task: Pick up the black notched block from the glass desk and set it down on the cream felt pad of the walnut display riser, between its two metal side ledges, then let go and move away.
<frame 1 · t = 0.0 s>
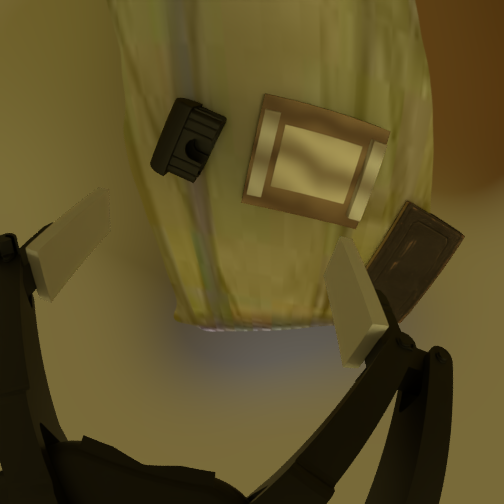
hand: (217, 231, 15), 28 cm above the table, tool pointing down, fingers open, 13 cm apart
display riser: (313, 160, 40), on the table
black notched block: (193, 135, 39), on the table
hardcover book: (403, 264, 50), on the table
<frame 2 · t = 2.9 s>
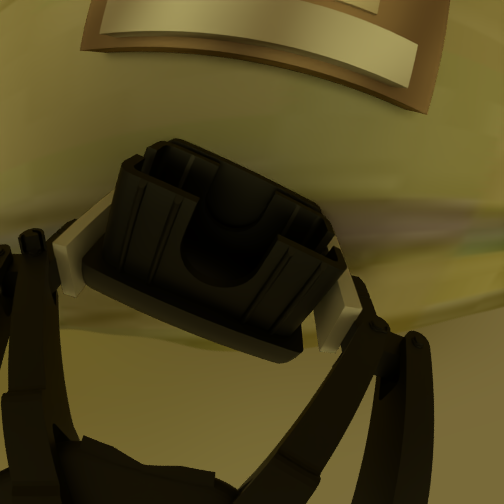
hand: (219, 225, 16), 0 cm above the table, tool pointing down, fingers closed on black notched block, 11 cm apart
black notched block: (222, 222, 16), on the table, touching gripper
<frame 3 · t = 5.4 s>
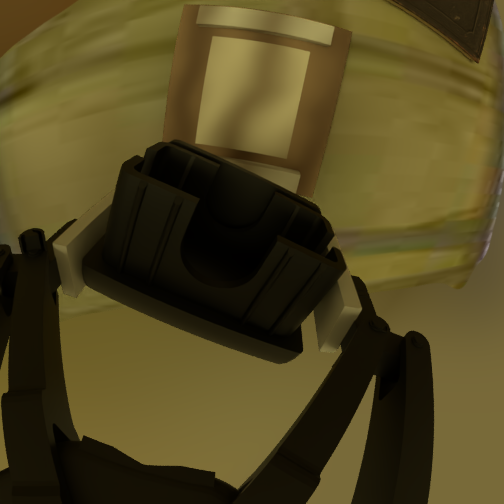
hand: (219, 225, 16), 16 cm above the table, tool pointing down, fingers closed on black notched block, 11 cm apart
display riser: (252, 95, 26), on the table
black notched block: (222, 223, 16), point 16 cm above the table, touching gripper
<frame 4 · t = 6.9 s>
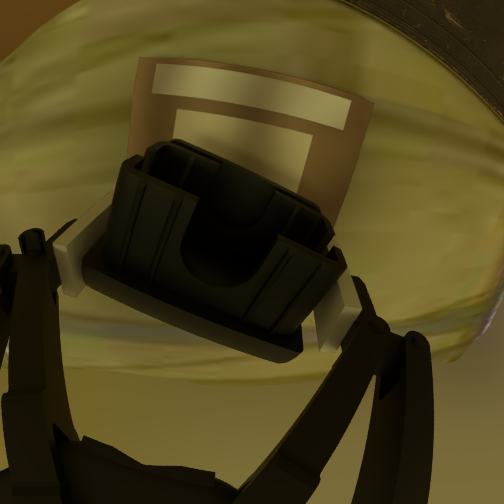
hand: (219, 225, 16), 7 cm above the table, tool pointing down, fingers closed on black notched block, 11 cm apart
display riser: (233, 183, 22), on the table
black notched block: (222, 222, 16), point 7 cm above the table, touching gripper
when the fingers open (4 cm above the table, at t = 8.0 s): black notched block drops 1 cm, resting on display riser.
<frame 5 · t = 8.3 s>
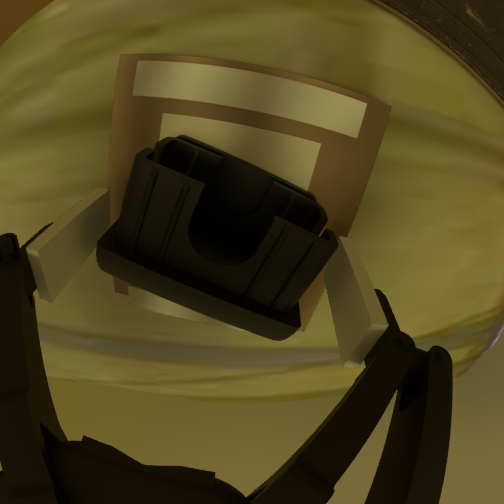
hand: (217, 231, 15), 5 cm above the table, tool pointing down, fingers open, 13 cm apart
display riser: (229, 196, 20), on the table
black notched block: (225, 212, 18), point 3 cm above the table, touching display riser
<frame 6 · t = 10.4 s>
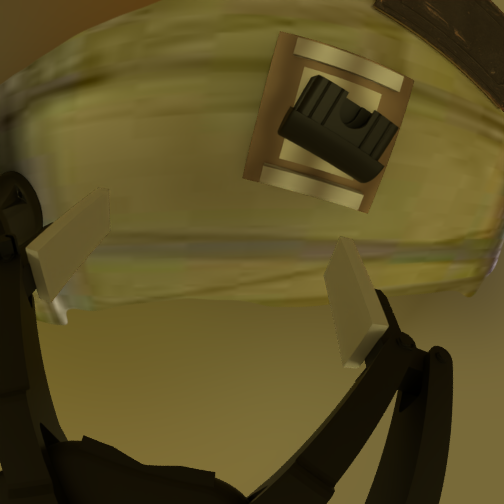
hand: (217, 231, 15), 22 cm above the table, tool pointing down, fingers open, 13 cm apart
display riser: (327, 121, 31), on the table
black notched block: (331, 124, 29), point 3 cm above the table, touching display riser
hardcover book: (457, 20, 20), on the table
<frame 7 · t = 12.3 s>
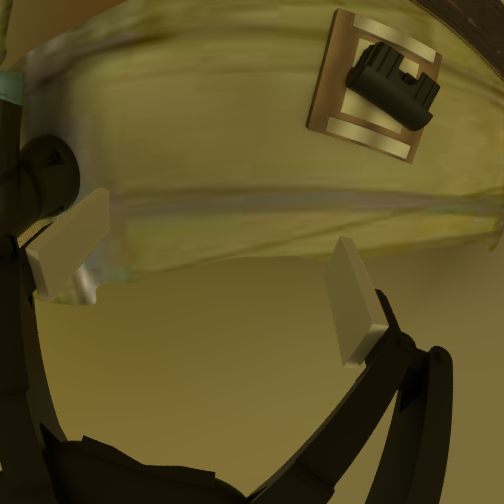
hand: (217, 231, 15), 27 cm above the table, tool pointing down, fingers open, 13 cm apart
display riser: (375, 85, 32), on the table
black notched block: (382, 86, 30), point 3 cm above the table, touching display riser
hardcover book: (469, 10, 22), on the table
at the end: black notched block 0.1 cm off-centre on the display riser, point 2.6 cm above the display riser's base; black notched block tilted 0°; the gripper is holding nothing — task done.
